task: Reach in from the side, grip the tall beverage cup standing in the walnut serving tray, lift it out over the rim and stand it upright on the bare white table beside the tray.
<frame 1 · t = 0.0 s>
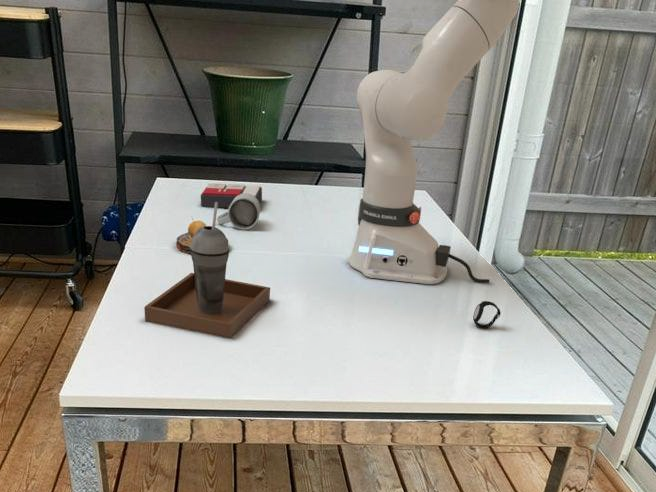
tray: (210, 310, 146), on the table
smartwatch: (483, 328, 149), on the table
ceramic mug: (239, 226, 192), on the table
burger: (202, 248, 176), on the table
red and grey box: (231, 204, 207), on the table
beverage cup: (210, 310, 146), resting on tray
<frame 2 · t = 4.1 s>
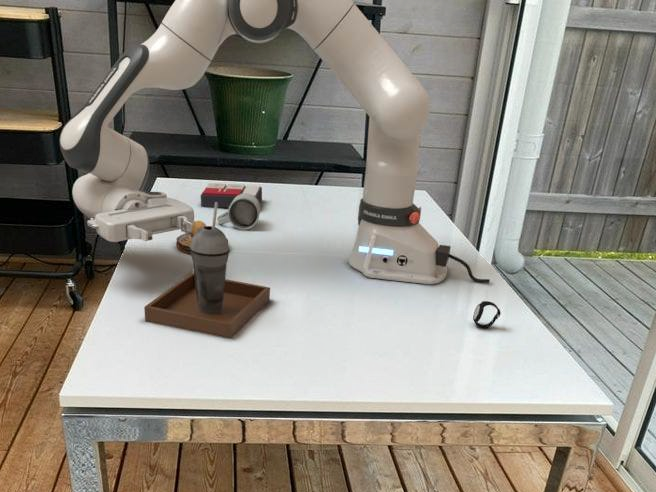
hand: (169, 232, 146), 12 cm above the table, tool horizontal, fingers open, 8 cm apart
nothing on the table moved.
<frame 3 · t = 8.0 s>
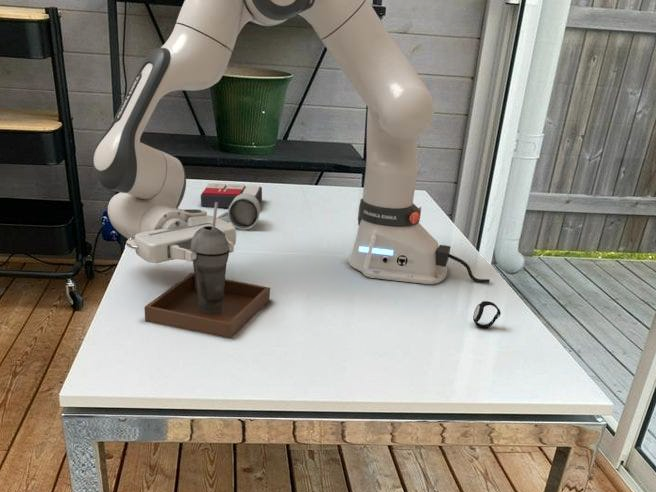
hand: (212, 252, 139), 11 cm above the table, tool horizontal, fingers closed on beverage cup, 7 cm apart
beverage cup: (209, 310, 146), resting on tray, touching gripper
everything else where it was.
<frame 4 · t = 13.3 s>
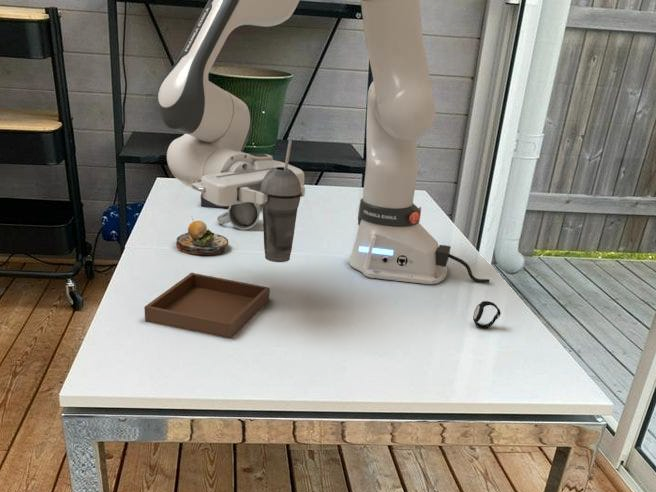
hand: (284, 195, 131), 23 cm above the table, tool horizontal, fingers closed on beverage cup, 7 cm apart
beverage cup: (277, 259, 138), point 12 cm above the table, touching gripper
everything else where it was.
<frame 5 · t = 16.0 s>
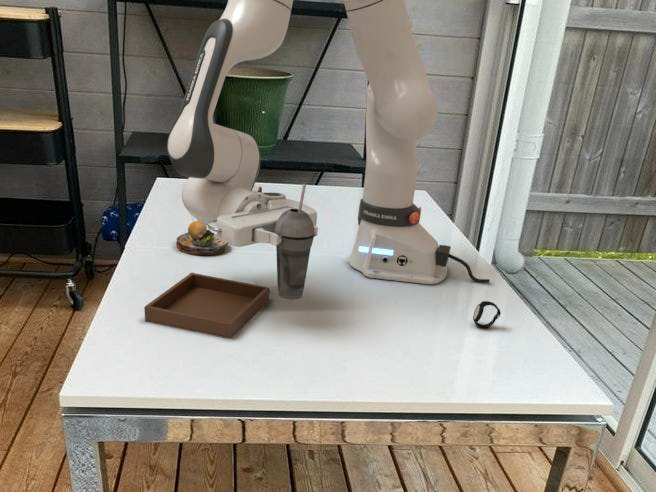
hand: (297, 236, 135), 16 cm above the table, tool horizontal, fingers closed on beverage cup, 7 cm apart
beverage cup: (290, 296, 142), point 5 cm above the table, touching gripper
everything else where it was.
when the fingers open (11 cm above the table, at t = 18.5 s): beverage cup stays where it is, on the table.
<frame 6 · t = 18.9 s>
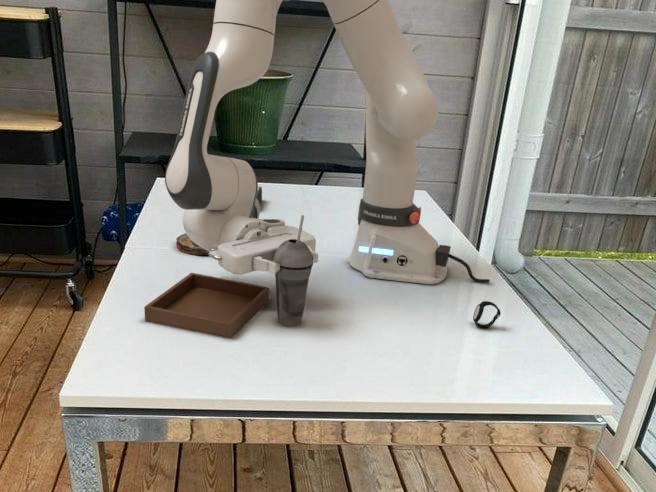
hand: (297, 263, 138), 12 cm above the table, tool horizontal, fingers open, 8 cm apart
beverage cup: (289, 323, 145), on the table
everything else where it was.
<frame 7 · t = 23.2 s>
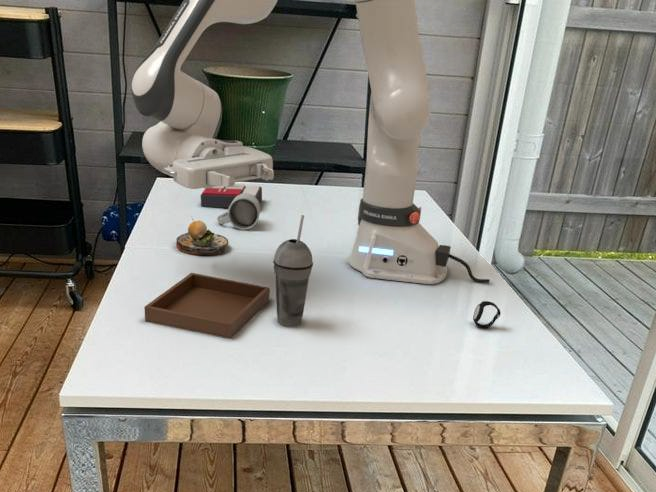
hand: (251, 178, 138), 23 cm above the table, tool horizontal, fingers open, 8 cm apart
nothing on the table moved.
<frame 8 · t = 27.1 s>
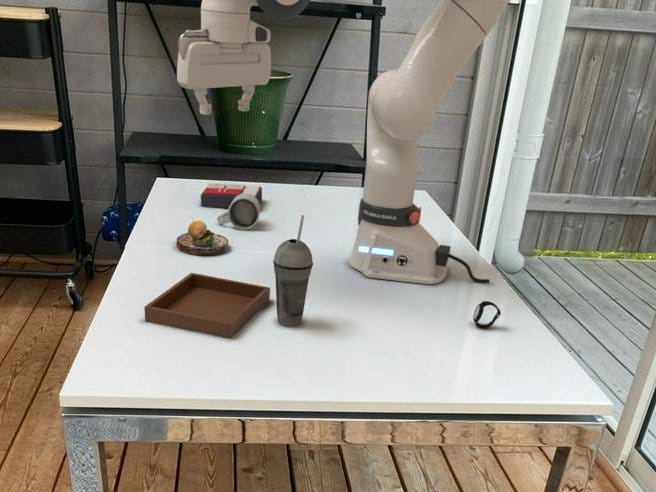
hand: (224, 112, 147), 31 cm above the table, tool pointing down, fingers open, 8 cm apart
nothing on the table moved.
at the end: beverage cup inside the target area (1.0 cm from its centre), on the table; beverage cup tilted 0°; beverage cup touching table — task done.
